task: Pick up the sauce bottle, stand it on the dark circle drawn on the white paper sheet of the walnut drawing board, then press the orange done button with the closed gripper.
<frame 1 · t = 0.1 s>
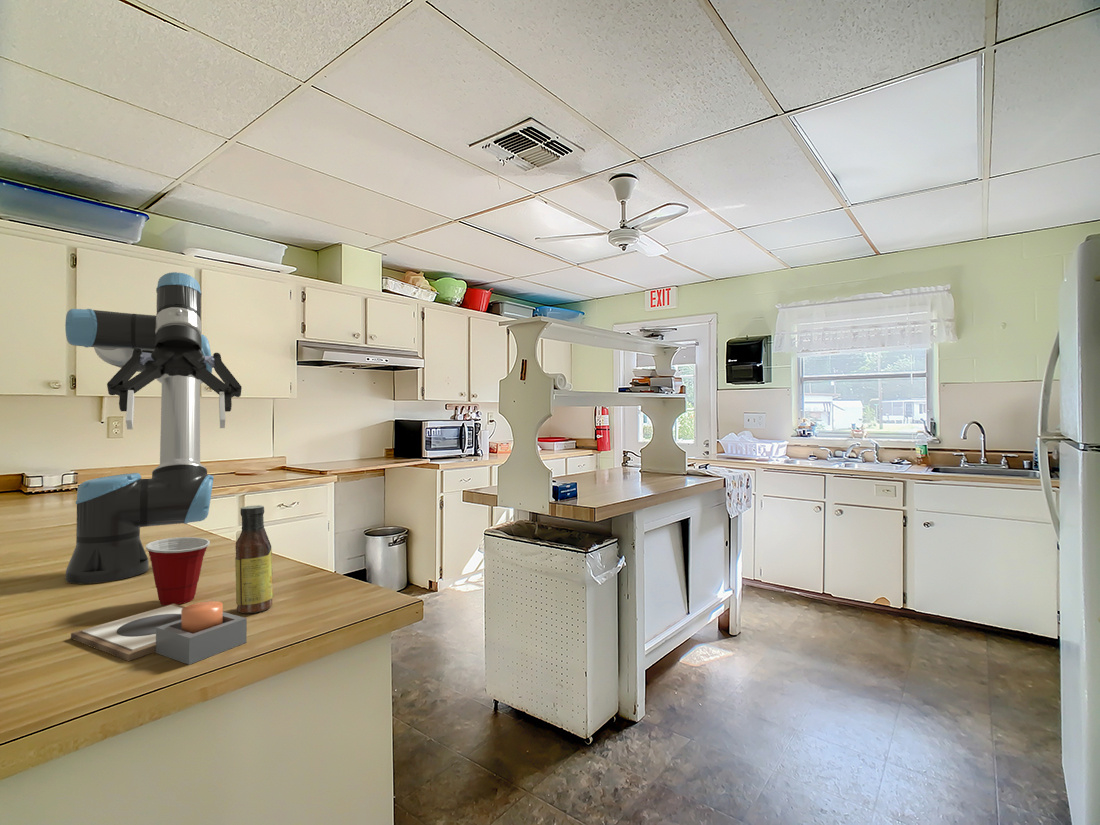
hand: (177, 424, 95), 36 cm above the counter, tool tilted 35°, fingers open, 13 cm apart
drawing board: (153, 631, 93), on the counter
done button housing: (202, 647, 87), on the counter
plastic cup: (178, 602, 109), on the counter
sauce bottle: (253, 610, 104), on the counter
done button: (202, 618, 87), point 5 cm above the counter, slide at 0.0 cm
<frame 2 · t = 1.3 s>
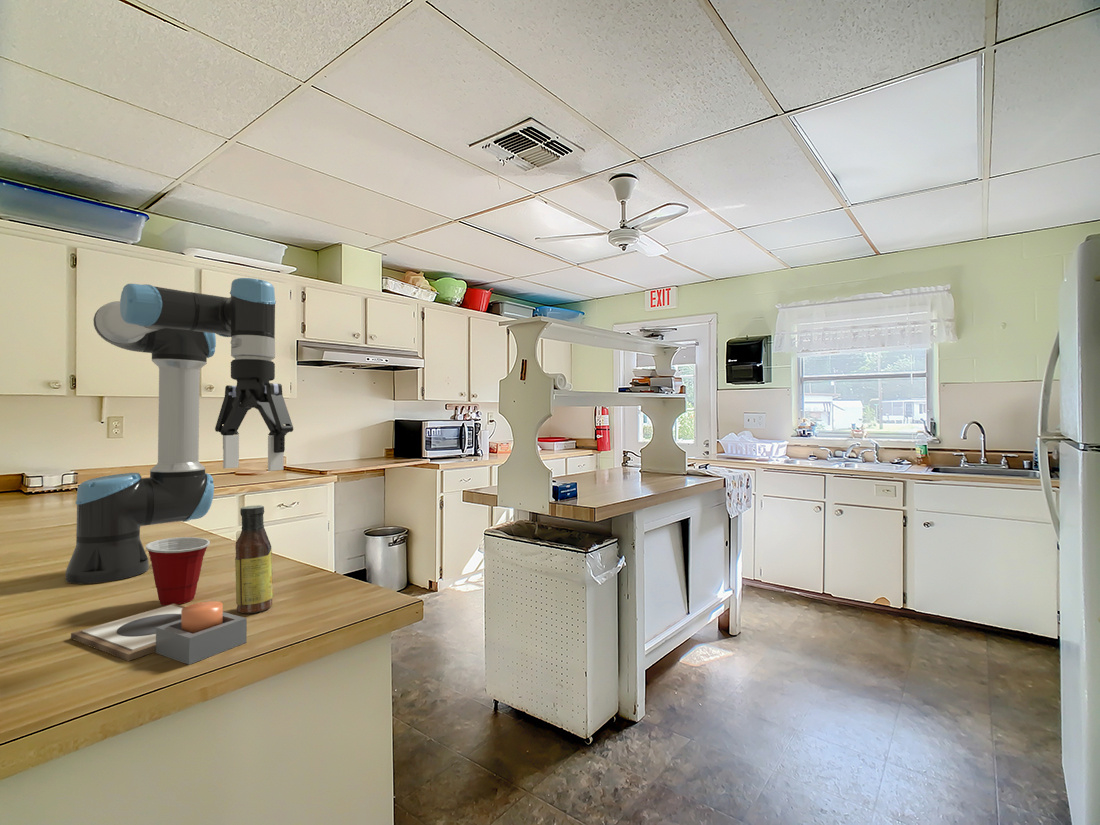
hand: (252, 469, 104), 27 cm above the counter, tool pointing down, fingers open, 13 cm apart
nothing on the counter moved.
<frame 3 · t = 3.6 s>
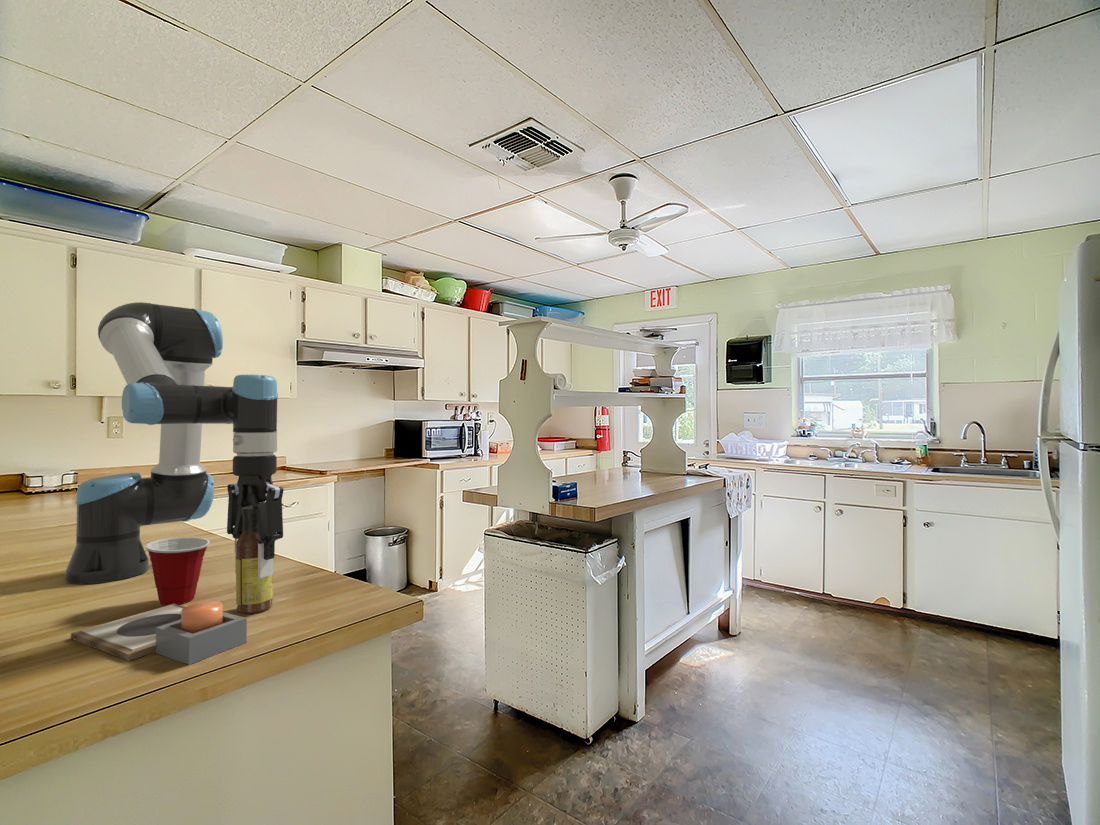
hand: (254, 573, 104), 7 cm above the counter, tool pointing down, fingers closed on sauce bottle, 6 cm apart
sauce bottle: (253, 610, 104), on the counter, touching gripper
everything else where it was.
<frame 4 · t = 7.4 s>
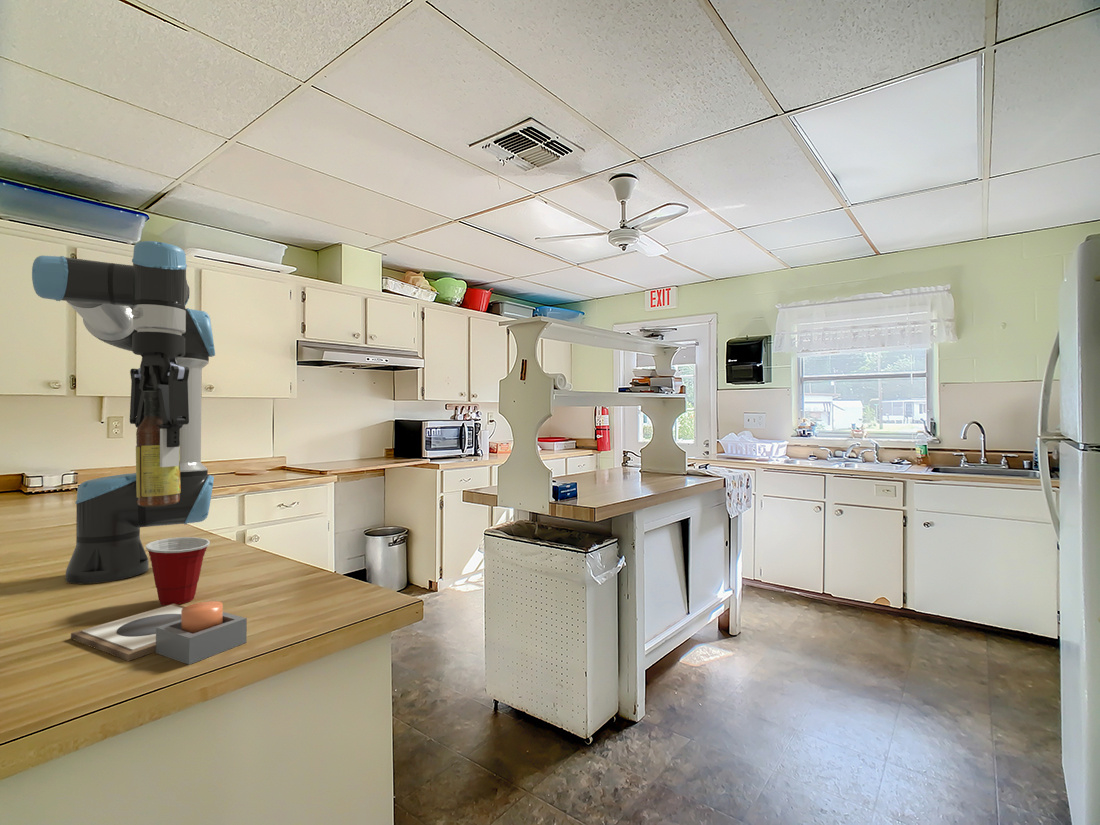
hand: (158, 465, 94), 29 cm above the counter, tool pointing down, fingers closed on sauce bottle, 6 cm apart
sauce bottle: (157, 506, 94), point 22 cm above the counter, touching gripper
everything else where it was.
when the fingers open (9 cm above the counter, at t = 10.9 s): sauce bottle drops 1 cm, resting on drawing board.
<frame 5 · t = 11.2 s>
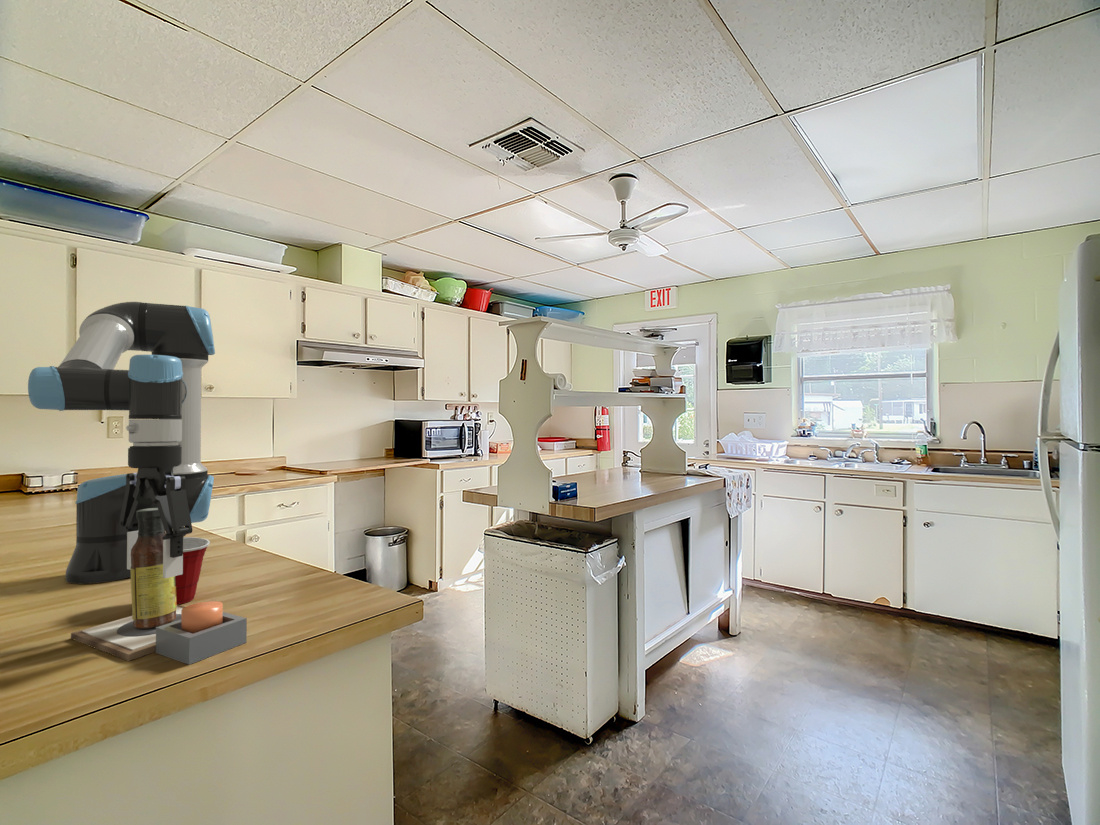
hand: (154, 571, 93), 10 cm above the counter, tool pointing down, fingers open, 10 cm apart
sauce bottle: (154, 624, 93), point 1 cm above the counter, touching drawing board
everything else where it was.
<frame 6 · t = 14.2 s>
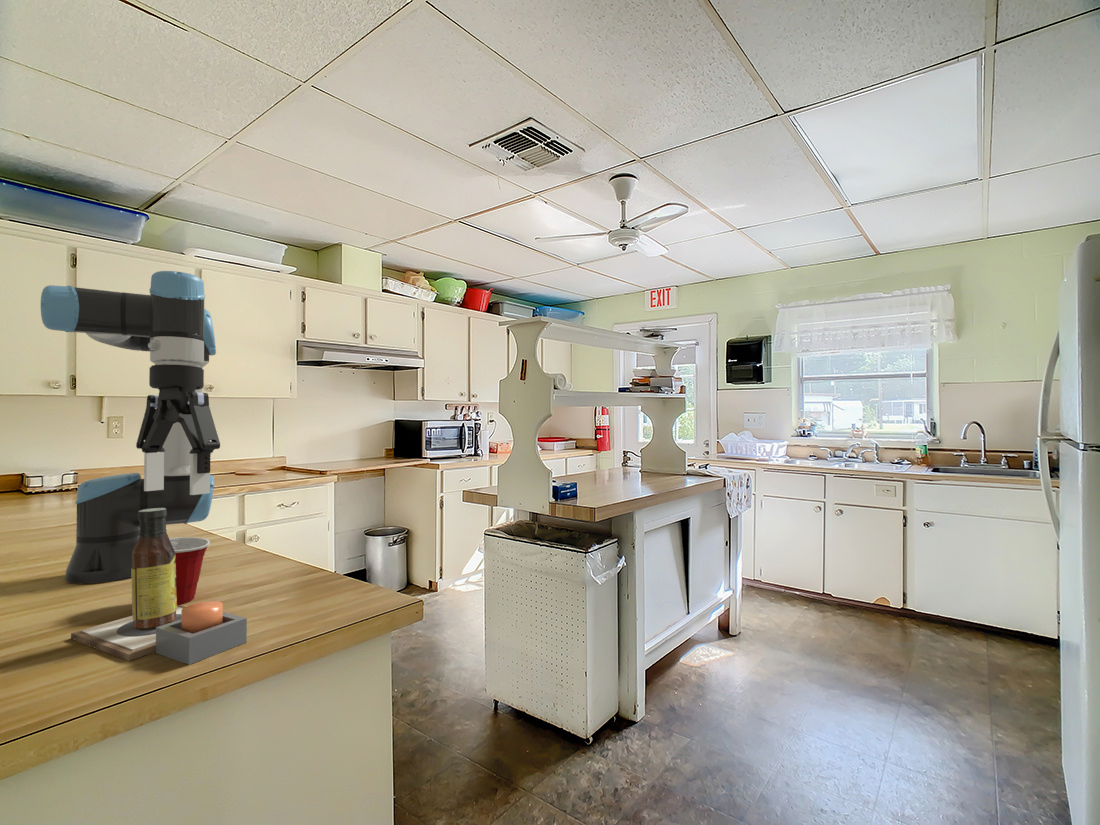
hand: (176, 492, 90), 25 cm above the counter, tool pointing down, fingers open, 13 cm apart
nothing on the counter moved.
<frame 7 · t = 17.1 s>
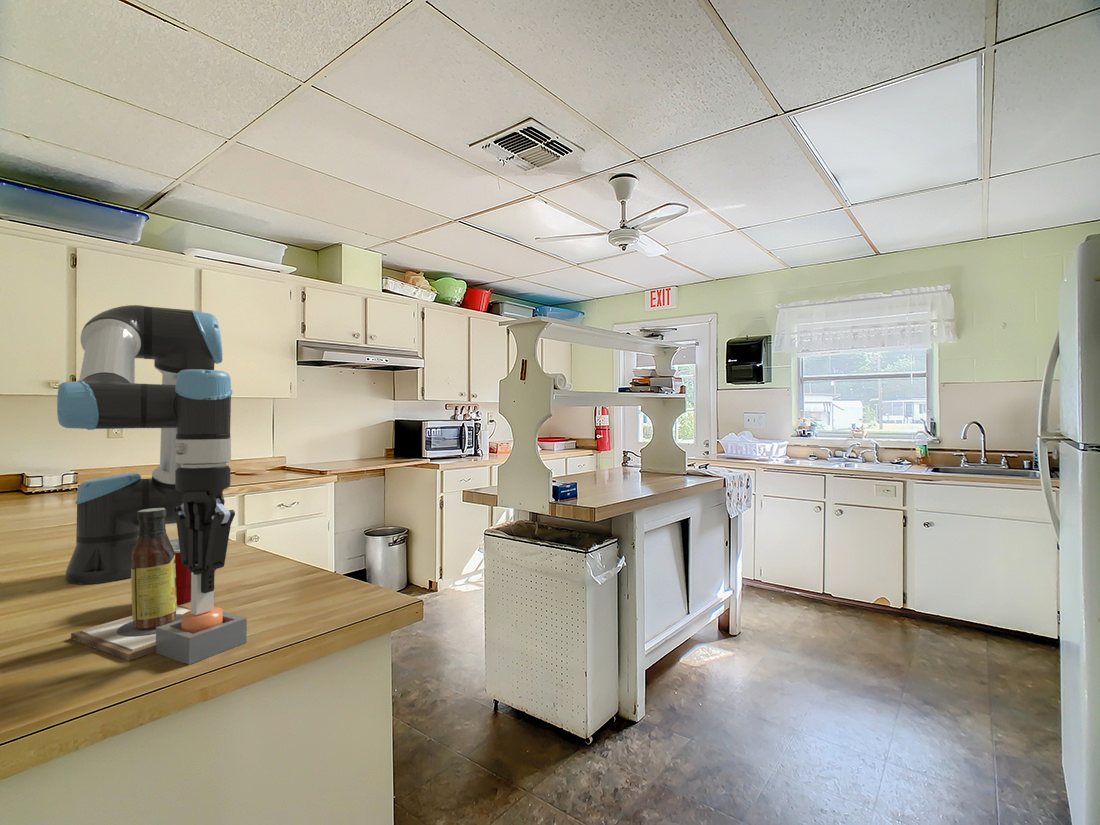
hand: (202, 611, 87), 6 cm above the counter, tool pointing down, fingers closed
done button: (202, 623, 87), point 4 cm above the counter, slide at 0.9 cm, touching gripper
everything else where it was.
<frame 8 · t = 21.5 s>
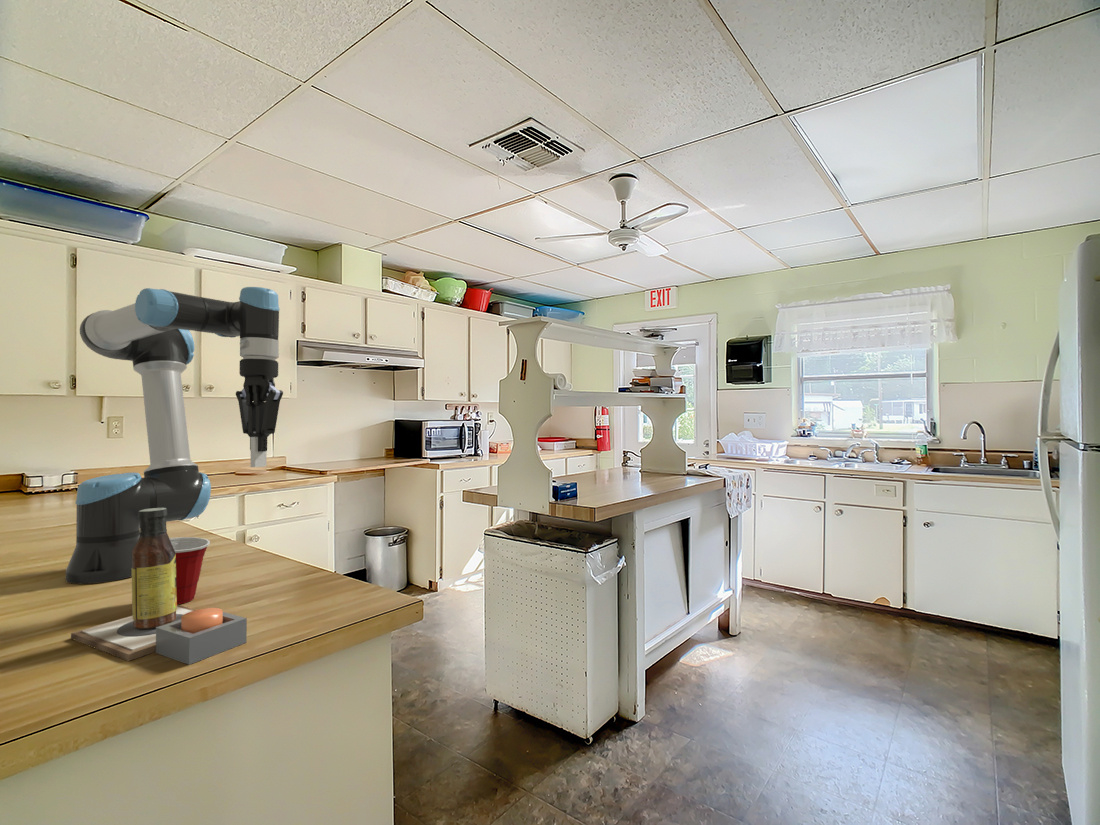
hand: (258, 466, 118), 26 cm above the counter, tool pointing down, fingers closed
done button: (202, 624, 87), point 4 cm above the counter, slide at 1.1 cm
everything else where it was.
at the end: sauce bottle 0.0 cm off-centre on the drawing board, point 1.1 cm above the drawing board's base; sauce bottle tilted 0°; done button slide at 1.1 cm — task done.
